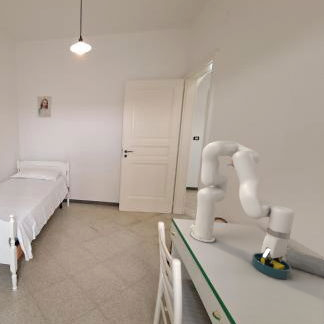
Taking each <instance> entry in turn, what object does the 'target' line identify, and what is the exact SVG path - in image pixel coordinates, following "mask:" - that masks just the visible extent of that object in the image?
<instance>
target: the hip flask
mask: <svg viewBox="0 0 324 324" xmlns="http://www.w3.org/2000/svg"><path fill="white" fill-rule="evenodd" d="M285 256H286V258H287V263H288V264H289V265H290V266H291V268H294V269H297V270H300V271H303V272H307V273H310V274H313V275H316V276H320V277H322V278H324V260H323V259H324V258H321V257H317V256H314V255H311V254H307V253H303V252H301V251H296V250H293V249H290V248H287V252H286V255H285Z"/></svg>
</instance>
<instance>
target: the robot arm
mask: <svg viewBox="0 0 324 324" xmlns="http://www.w3.org/2000/svg"><path fill="white" fill-rule="evenodd" d="M227 156H228V157H230V158H231V161H232V165H233V167H234V170H235V173H236V176H237V178H238V181H239V188H238V189H239V190H238V197H239V201H240V205H241V207H242V209H243V211H244V213H245V214H246V216H248V217H249V218H251V219H253V220H259V219H263V218H268V223H267V229H266V235H265V236H264V239H263V241H262V245H261V251H260V253H262V254H264V255H263V256H262V257H263V258H264V260H265V262H264V264H265V265H267V266H269V267H272V268H273V265H274V264H273V261H276V262H278V263H281V261H282V260H283V259H282V258H283V257H285V256H287V255H286V252H287V249H288V246H289V240H290V237H291V233H292V228H293V223H294V218H295V210H293V209H292V208H290V207H287V206H283V205H282V206H281V205H278V204H275V203H272V202H269V201H266V200H260V199H259V197H258V188H259V185H260V184H261V182H262V177H261V174H260V172H259V170H258V167H257V164H259V162H260V161H261V155H260V154H259V153H258V152H257V151H256V150H254V149H252V148H250V147H247V146H245V145H243V144H240V143H238V142H237V141H232V140H215V141H212V142H209V143H208V144H207V145H205V146H204V148H203V149H202V153H201V159H202V160H201V171H200V182H201V183H202V184H203V185H204V186H208V187H203V188H201V189H199V190H198V192H197V194H196V203H197V204H196V213H195V214H196V215H195V220H194V221H195V222H194V224H191V225H190V226H189V228H190V229H191V230H192V231H191V232H190V235H191V237H192V238H193V239H195V240H197V241H200V242H203V243H214V242H215V241H216V238H215V236H213V235H214V234H213V233H214V227H215V219H216V203H220V202H223V201H224V200H225V199H226V198H227V194H228V193H227V191H228V175H227V173H226V171H224V170H223V169H220V160H219V158H220V157H227ZM270 255H271V256H270ZM268 257H270V258H271V260H270V259H269V258H268Z"/></svg>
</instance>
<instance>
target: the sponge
mask: <svg viewBox="0 0 324 324" xmlns="http://www.w3.org/2000/svg"><path fill="white" fill-rule="evenodd" d="M269 259H270V258H269ZM270 260H271V259H270ZM264 262H265V260H264V258H261V263H263V264H264ZM273 264H274V265H273V268H275V269H280V270H284V267H285V266H284V265H282V264H280V263H278V262H276V261H273Z"/></svg>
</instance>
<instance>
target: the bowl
mask: <svg viewBox="0 0 324 324" xmlns="http://www.w3.org/2000/svg"><path fill="white" fill-rule="evenodd" d="M263 255H264V254H262V253H261V252H255V253H253V254H252V258H251V265H252V266H253V267H254V268H255V269H256V270H257V271H260V272H261V273H263V274H264V275H267V276H269V277H272V278H276V279H283V280H284V279H285V280H286V279H289V278H290V277H291V274H292V268H293V267H291V266H290V265H289V264H288V262H287V261H285V260H283V259H282V261H281V263H280V264H282V265H284V266H285V267H284V270H280V269H275V268H272V267H269V266H267V265H265V264H263V263H261V258H263V257H262V256H263ZM270 256H271V255H270ZM268 258H270V257H268ZM270 259H271V258H270Z"/></svg>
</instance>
